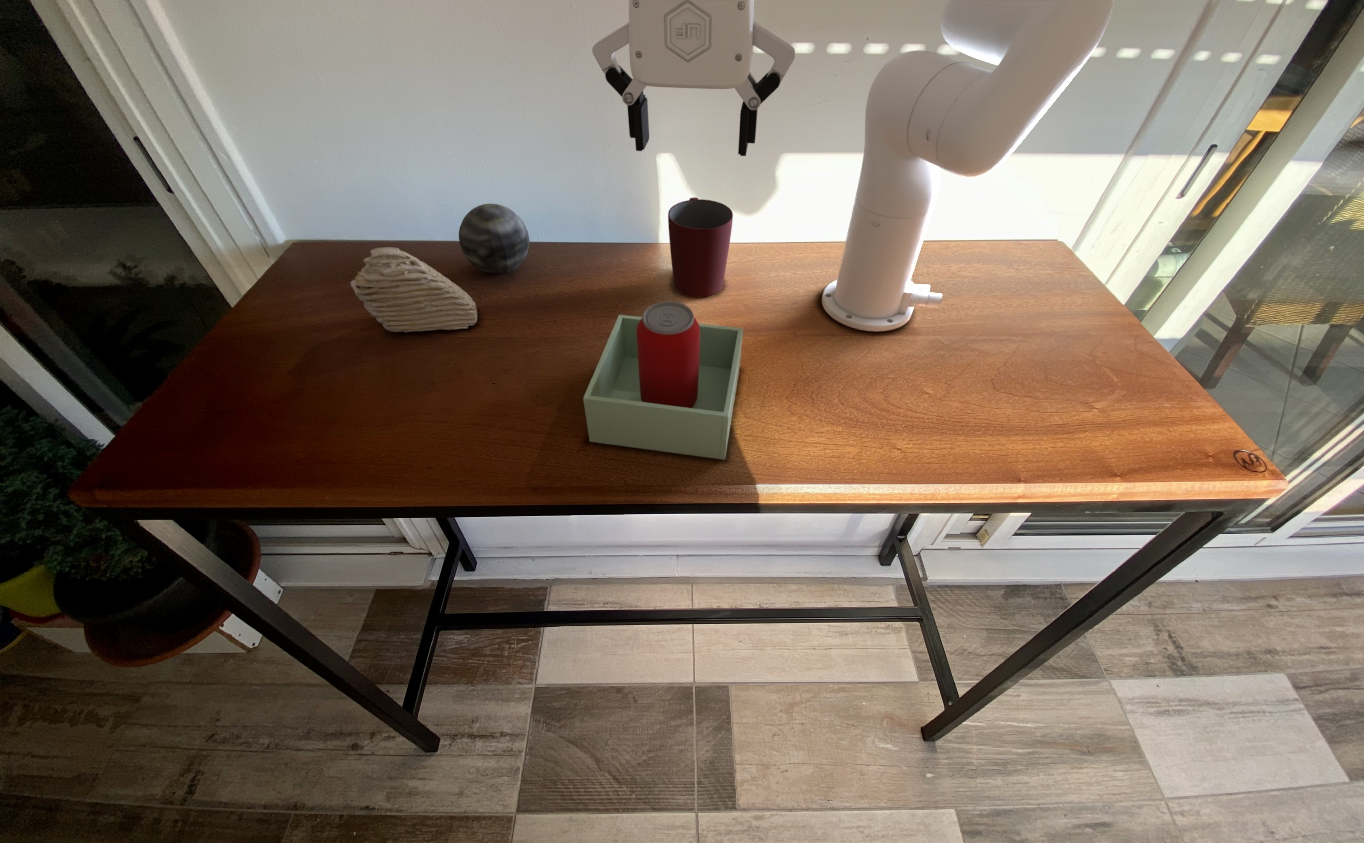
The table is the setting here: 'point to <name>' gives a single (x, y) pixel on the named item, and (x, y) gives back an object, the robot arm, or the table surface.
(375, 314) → the fossil tooth
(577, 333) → the table surface
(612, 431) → the sage green storage bin
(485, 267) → the decorative stone
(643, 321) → the beverage can
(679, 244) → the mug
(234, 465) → the table surface
